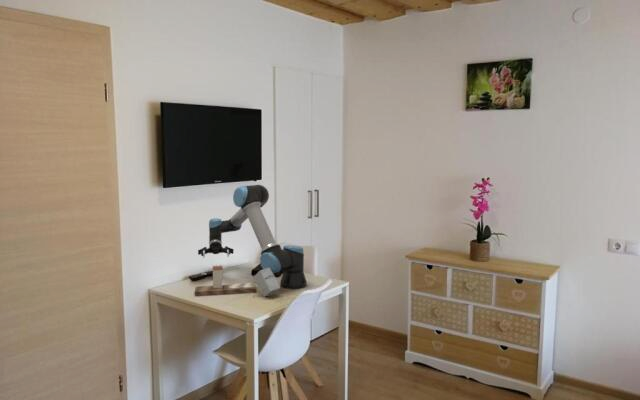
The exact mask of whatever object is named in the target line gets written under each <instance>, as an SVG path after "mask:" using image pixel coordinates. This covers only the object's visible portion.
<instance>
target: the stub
mask: <svg viewBox="0 0 640 400" xmlns="http://www.w3.org/2000/svg"><path fill="white" fill-rule="evenodd" d="M222 285H223V265H212V286H213V288H223V287H222Z"/></svg>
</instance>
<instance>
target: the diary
mask: <svg viewBox="0 0 640 400" xmlns="http://www.w3.org/2000/svg"><path fill="white" fill-rule="evenodd" d="M261 270H263V268H262V267H261V264H260V263H259V264H257V265H256V266H255V267H254V268H253V269H251V274H250V275H251V277H254V276H255V275H256V274H257V273H258V272H259V271H261ZM273 274H274V276H275V278H280V277H282V275H283V271H280V272H277V273H273Z"/></svg>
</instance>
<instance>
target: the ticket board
mask: <svg viewBox="0 0 640 400" xmlns="http://www.w3.org/2000/svg"><path fill="white" fill-rule="evenodd" d="M256 283H257V282H244V283H242V282H241V283H228V284H222V287H223V288H213V285H203V286H202V285H201V286H199V285H198V286H195V288H194V296H195V297H206V296H223V295H224V296H225V295H238V294H239V295H241V294H243V295H244V294H255V293H256V294H257V293H258V288H257V286H258V285H257V284H256Z"/></svg>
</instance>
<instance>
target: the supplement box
mask: <svg viewBox="0 0 640 400" xmlns="http://www.w3.org/2000/svg"><path fill="white" fill-rule="evenodd" d="M253 277H254V280H255V283H257V284H256V285H257V286H258V287H259V289H260V292H261V294H262V295H263V297H267V296H270V295H272V294H275V293H276V292H278V290H279V289H280V288H281V286H280V284H279V282H278V281H277V277H275V276H274V274H273V272H272V271H271V269H270V268H267V269H264V270H261V271H259V272H258V273H257V274H256V275H255V274H254V275H253Z"/></svg>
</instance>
